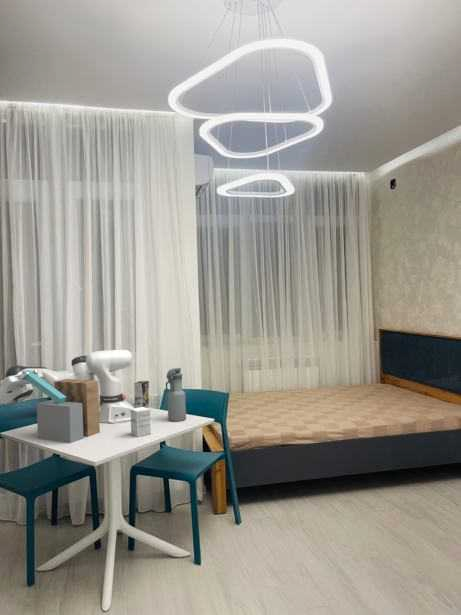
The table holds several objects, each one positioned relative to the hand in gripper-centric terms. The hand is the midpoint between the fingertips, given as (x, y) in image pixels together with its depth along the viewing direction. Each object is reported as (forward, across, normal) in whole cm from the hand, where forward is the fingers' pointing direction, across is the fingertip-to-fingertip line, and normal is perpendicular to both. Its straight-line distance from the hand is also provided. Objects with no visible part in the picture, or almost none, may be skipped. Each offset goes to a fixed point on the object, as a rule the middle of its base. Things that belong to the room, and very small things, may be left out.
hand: (32, 372), depth 230 cm
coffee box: (-5, -70, -34) cm, 78 cm away
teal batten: (+2, 0, -10) cm, 11 cm away
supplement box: (+29, -20, -53) cm, 64 cm away
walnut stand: (0, -11, -36) cm, 38 cm away
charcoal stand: (0, 0, -36) cm, 37 cm away
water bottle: (+29, -51, -53) cm, 79 cm away
